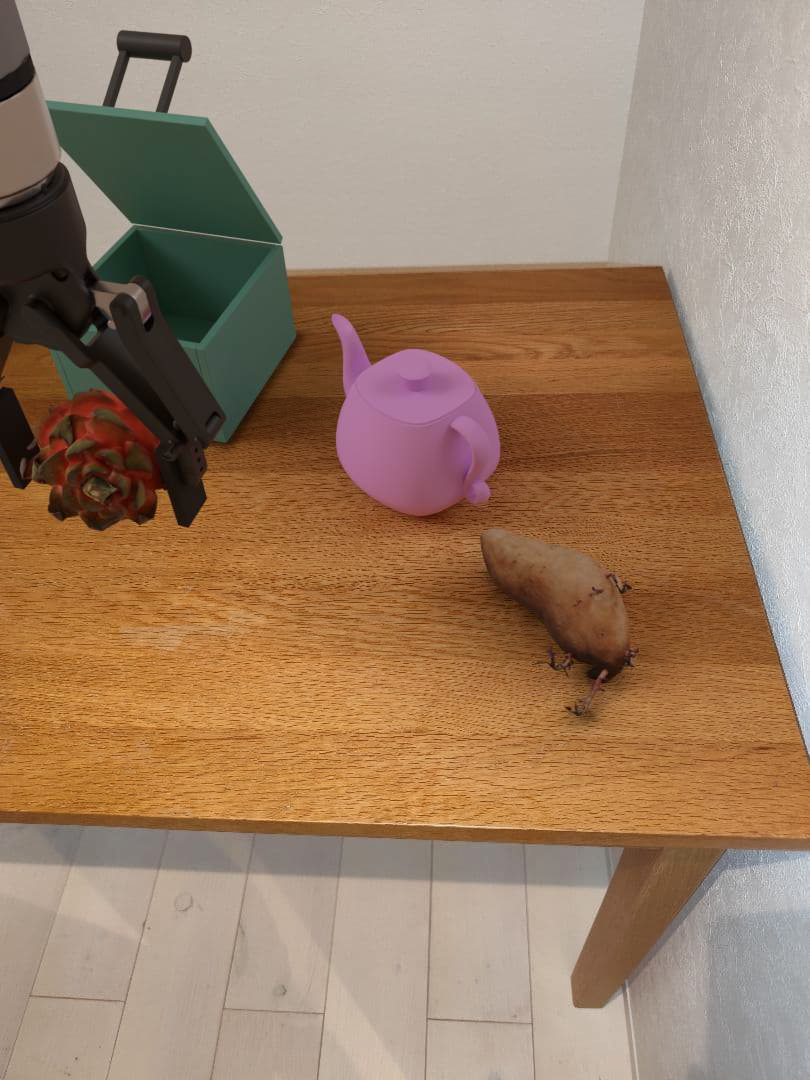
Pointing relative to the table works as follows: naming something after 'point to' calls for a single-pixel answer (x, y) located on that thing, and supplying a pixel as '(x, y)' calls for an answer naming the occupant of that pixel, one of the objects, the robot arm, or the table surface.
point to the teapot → (413, 429)
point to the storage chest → (206, 310)
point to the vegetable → (565, 602)
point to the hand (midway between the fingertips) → (110, 493)
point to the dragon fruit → (96, 461)
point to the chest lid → (161, 154)
